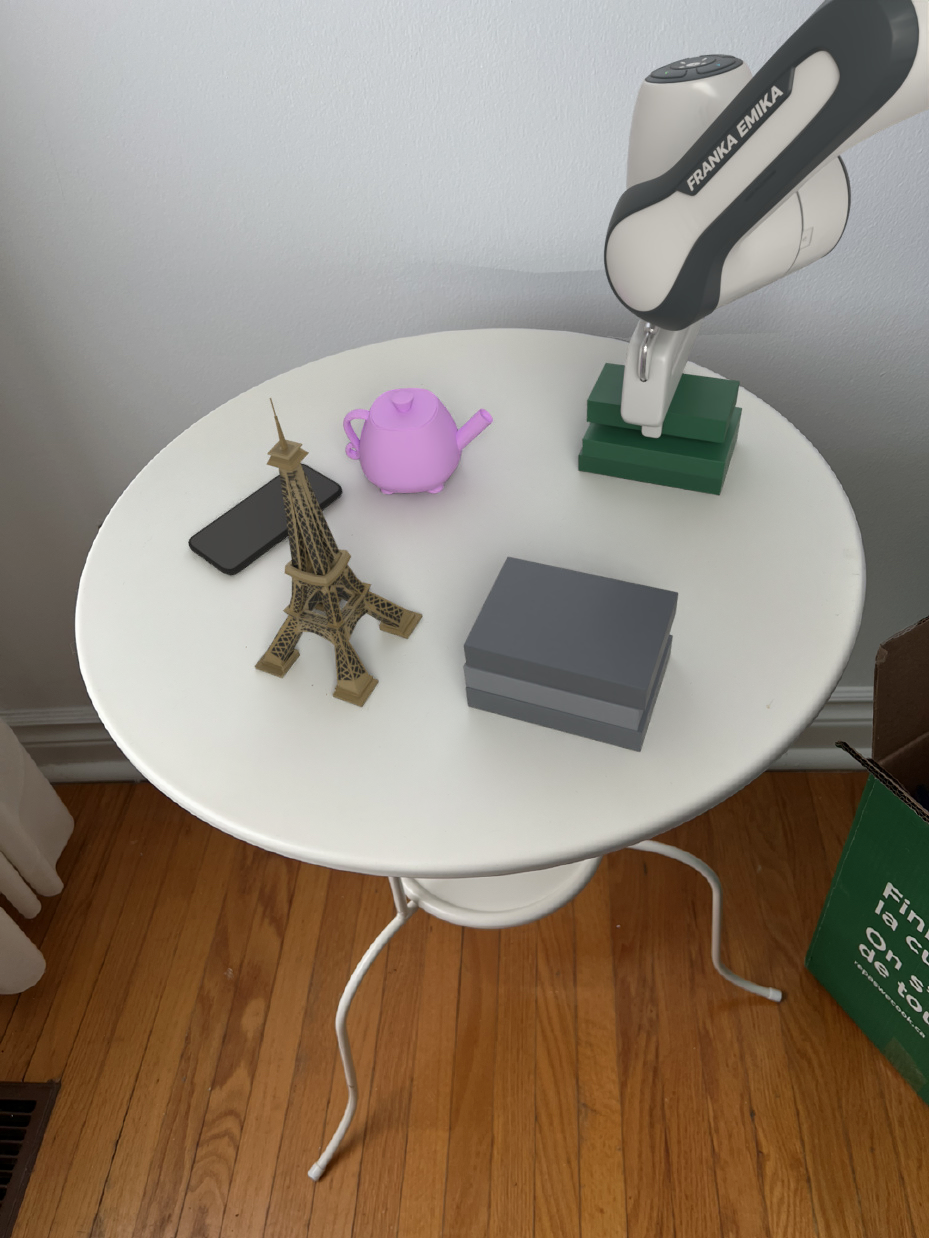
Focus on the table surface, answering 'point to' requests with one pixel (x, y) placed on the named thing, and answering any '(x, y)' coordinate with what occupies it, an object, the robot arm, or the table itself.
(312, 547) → the eiffel tower
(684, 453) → the green stack
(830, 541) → the table surface
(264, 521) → the smartphone
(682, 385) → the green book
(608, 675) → the grey stack
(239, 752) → the table surface
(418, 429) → the teapot
